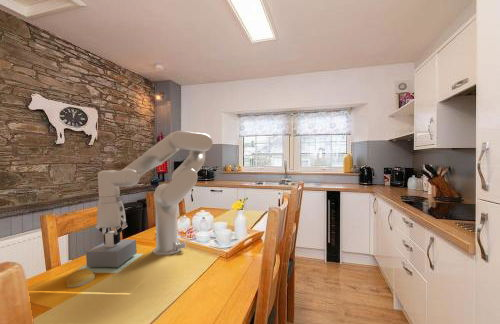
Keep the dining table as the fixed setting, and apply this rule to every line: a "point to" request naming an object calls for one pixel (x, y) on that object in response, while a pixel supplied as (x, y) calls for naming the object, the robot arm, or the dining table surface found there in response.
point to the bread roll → (80, 278)
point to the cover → (111, 252)
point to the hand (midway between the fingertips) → (112, 242)
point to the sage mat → (112, 269)
